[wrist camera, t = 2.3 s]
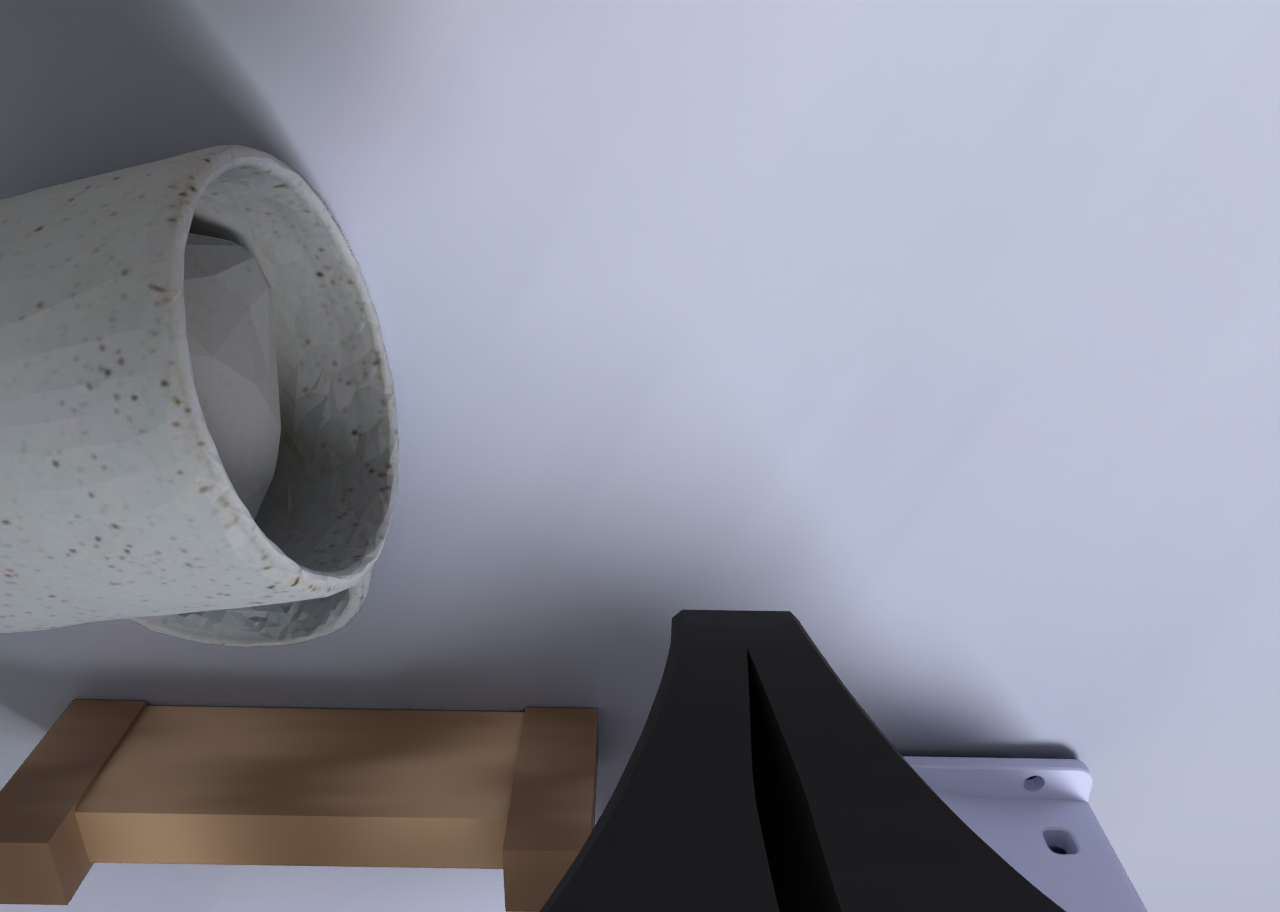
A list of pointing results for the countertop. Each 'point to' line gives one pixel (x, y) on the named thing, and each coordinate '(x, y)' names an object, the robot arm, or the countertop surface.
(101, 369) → the ceramic mug
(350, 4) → the countertop surface
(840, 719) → the robot arm
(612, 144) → the countertop surface
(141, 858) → the cedar frame
